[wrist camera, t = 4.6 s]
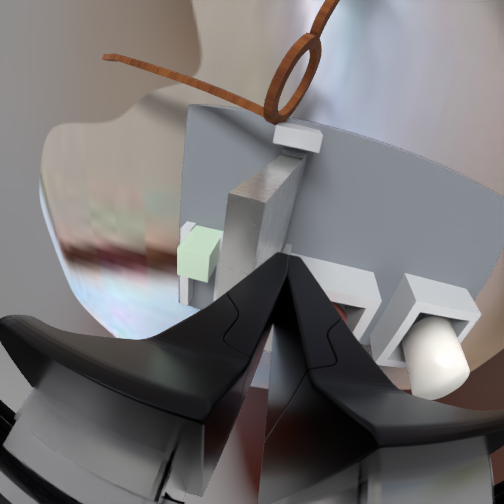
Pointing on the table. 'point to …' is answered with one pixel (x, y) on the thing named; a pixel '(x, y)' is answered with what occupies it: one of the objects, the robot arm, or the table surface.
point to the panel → (352, 222)
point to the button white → (434, 358)
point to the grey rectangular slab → (259, 217)
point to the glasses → (274, 92)
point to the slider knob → (198, 253)
